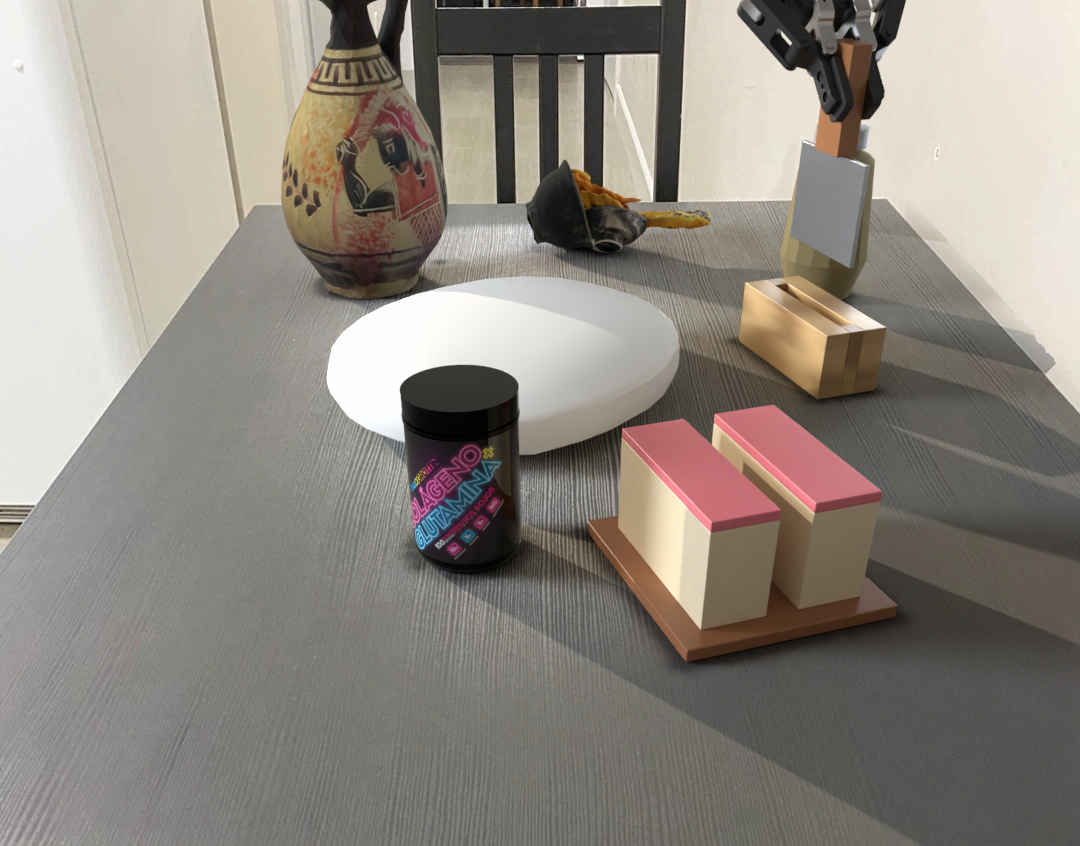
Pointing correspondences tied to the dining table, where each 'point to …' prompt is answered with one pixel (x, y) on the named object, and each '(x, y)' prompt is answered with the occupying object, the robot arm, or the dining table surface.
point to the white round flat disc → (514, 354)
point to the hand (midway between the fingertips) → (857, 113)
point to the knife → (835, 171)
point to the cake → (742, 533)
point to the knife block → (811, 336)
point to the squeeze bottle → (818, 265)
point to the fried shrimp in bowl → (594, 214)
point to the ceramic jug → (363, 162)
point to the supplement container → (463, 465)
